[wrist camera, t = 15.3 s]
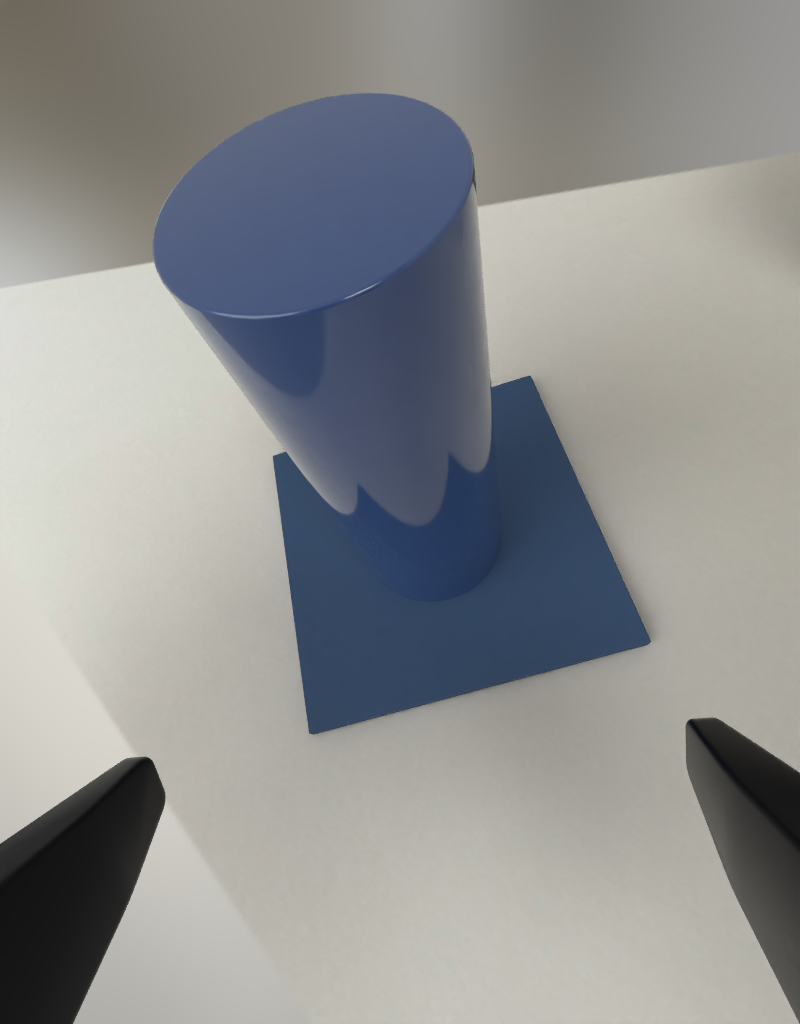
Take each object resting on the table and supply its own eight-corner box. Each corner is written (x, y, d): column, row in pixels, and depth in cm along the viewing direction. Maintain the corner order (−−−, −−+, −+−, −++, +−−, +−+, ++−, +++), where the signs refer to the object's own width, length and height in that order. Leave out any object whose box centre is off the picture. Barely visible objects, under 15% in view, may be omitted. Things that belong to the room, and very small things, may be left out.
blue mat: (312, 734, 19) (308, 734, 19) (276, 460, 25) (272, 455, 24) (648, 644, 18) (651, 641, 18) (530, 380, 24) (530, 374, 23)
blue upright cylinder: (503, 602, 19) (471, 294, 7) (358, 601, 20) (109, 334, 8) (501, 472, 21) (475, 65, 9) (372, 477, 23) (193, 121, 10)
